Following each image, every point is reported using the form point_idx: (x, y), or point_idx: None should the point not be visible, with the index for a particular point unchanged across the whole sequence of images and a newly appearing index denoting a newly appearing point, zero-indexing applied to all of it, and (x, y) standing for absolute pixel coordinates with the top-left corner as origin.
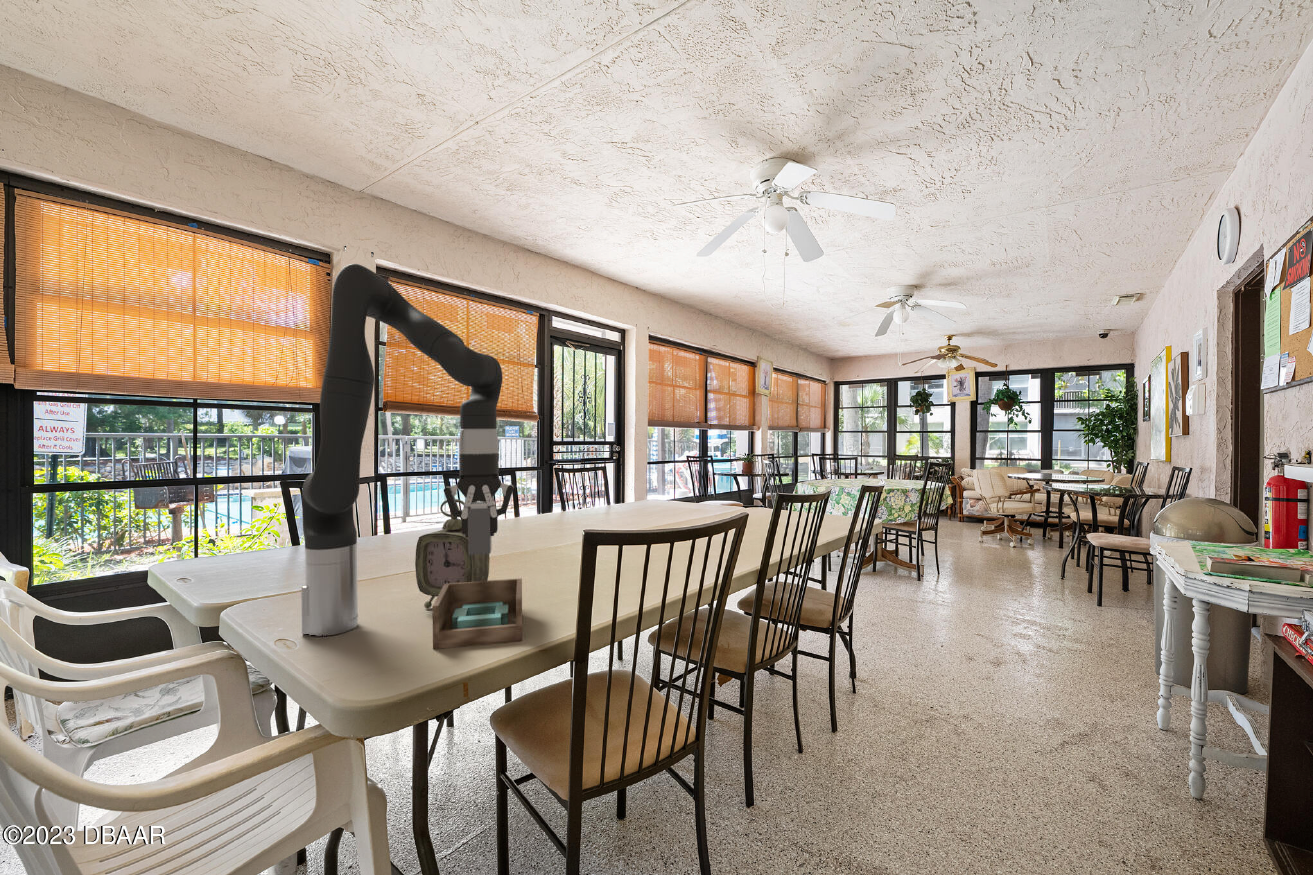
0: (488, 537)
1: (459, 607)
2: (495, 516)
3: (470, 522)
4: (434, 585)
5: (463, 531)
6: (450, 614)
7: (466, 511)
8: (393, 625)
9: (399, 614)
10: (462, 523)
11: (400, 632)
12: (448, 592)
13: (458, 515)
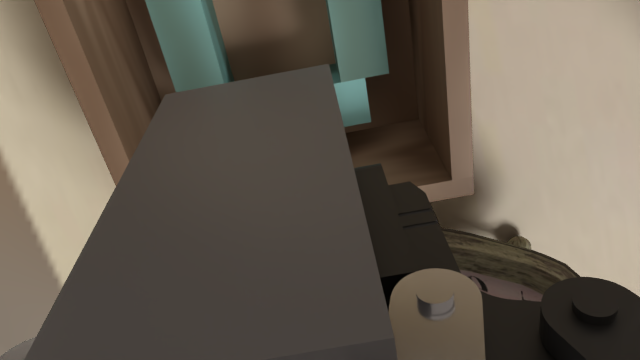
0: (150, 151)
1: (389, 139)
2: (21, 351)
3: (327, 208)
4: (521, 284)
5: (409, 197)
6: (417, 124)
7: (420, 355)
8: (602, 93)
9: (596, 195)
10: (440, 250)
11: (567, 19)
12: (442, 147)
13: (524, 313)
